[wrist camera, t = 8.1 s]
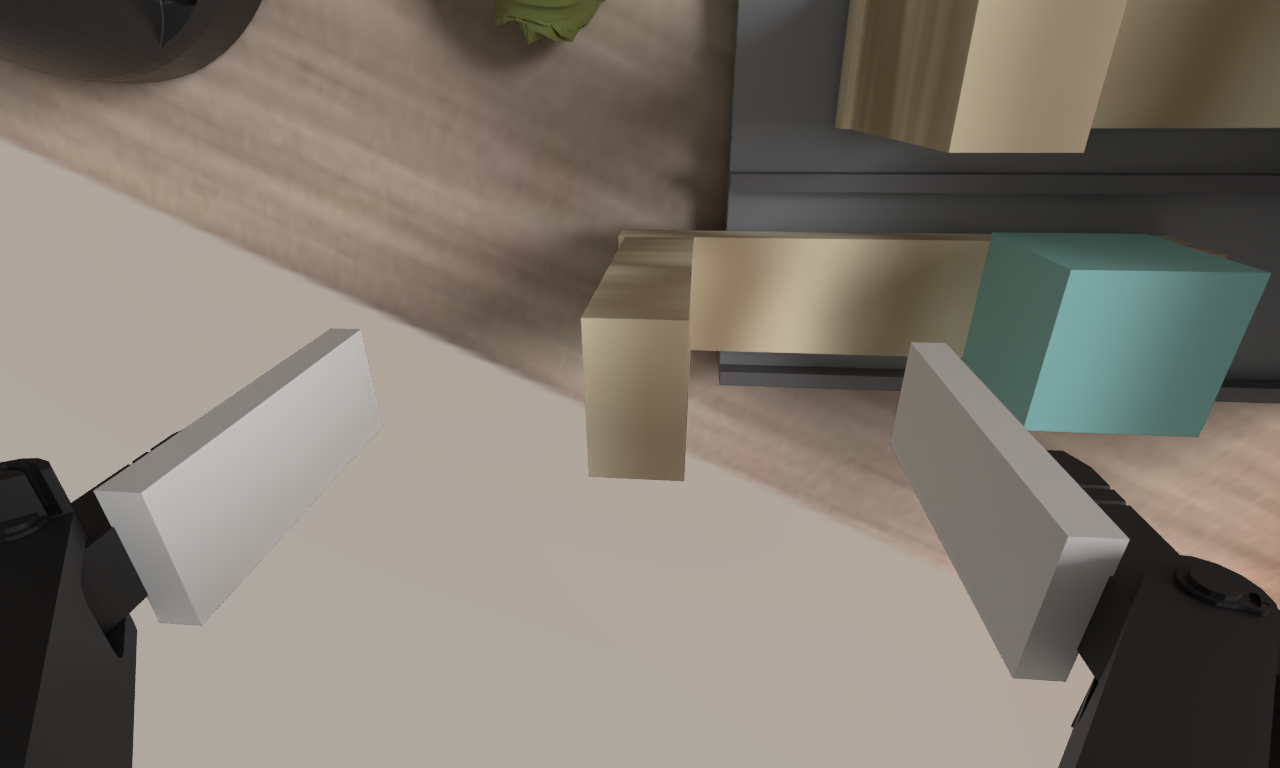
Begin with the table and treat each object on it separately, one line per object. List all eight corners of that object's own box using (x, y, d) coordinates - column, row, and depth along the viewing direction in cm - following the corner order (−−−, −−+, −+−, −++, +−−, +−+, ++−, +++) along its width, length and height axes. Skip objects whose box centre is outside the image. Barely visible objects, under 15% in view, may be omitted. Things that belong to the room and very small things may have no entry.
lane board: (718, 365, 27) (719, 384, 25) (741, -78, 20) (745, -95, 18) (1308, 383, 25) (1356, 405, 23) (1559, -105, 18) (1654, -126, 16)
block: (960, 365, 23) (1022, 430, 19) (992, 232, 21) (1070, 269, 16) (1100, 369, 23) (1198, 436, 18) (1147, 234, 21) (1271, 272, 16)
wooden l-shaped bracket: (624, 337, 25) (579, 476, 16) (622, 229, 23) (569, 317, 14) (1125, 350, 24) (1395, 514, 14) (1166, 235, 22) (1508, 340, 12)
